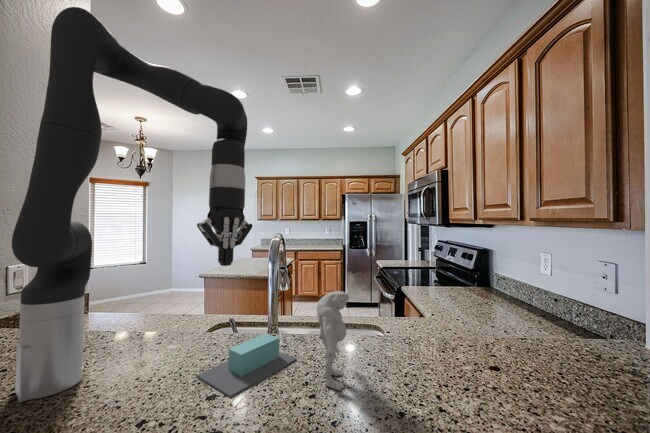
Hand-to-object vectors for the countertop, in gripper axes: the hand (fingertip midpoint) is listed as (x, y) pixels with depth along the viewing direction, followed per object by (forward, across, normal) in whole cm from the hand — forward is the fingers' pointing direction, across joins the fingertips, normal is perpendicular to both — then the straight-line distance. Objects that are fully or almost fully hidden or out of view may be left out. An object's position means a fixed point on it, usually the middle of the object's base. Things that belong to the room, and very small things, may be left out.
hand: (225, 265), depth 61 cm
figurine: (+23, -12, +21) cm, 33 cm away
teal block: (+20, -1, +3) cm, 21 cm away
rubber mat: (+23, -5, +3) cm, 24 cm away
